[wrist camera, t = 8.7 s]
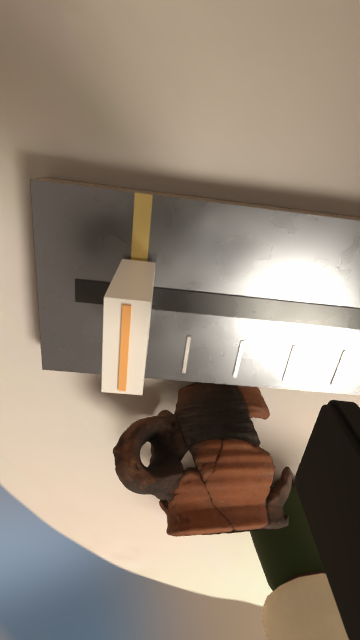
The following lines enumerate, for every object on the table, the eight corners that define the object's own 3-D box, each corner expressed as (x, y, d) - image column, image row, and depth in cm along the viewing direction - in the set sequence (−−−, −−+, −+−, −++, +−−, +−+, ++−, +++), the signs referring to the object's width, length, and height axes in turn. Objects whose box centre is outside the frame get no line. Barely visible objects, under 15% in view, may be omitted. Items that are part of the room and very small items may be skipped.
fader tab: (155, 262, 16) (150, 303, 11) (148, 335, 18) (142, 396, 13) (122, 258, 16) (103, 298, 11) (118, 332, 17) (100, 393, 13)
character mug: (236, 546, 30) (280, 796, 18) (204, 500, 27) (233, 760, 15) (355, 508, 28) (490, 757, 16) (334, 454, 25) (480, 708, 13)
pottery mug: (300, 385, 23) (340, 523, 18) (224, 424, 30) (239, 533, 25) (139, 356, 18) (138, 537, 13) (92, 411, 25) (80, 544, 20)
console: (456, 229, 18) (490, 237, 16) (386, 379, 22) (407, 400, 20) (45, 177, 16) (28, 179, 14) (53, 351, 21) (41, 370, 19)
